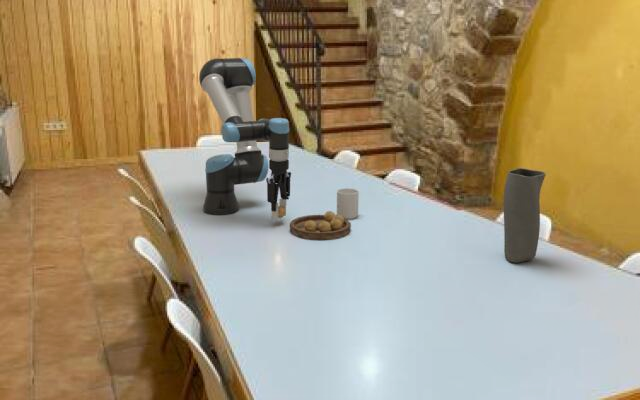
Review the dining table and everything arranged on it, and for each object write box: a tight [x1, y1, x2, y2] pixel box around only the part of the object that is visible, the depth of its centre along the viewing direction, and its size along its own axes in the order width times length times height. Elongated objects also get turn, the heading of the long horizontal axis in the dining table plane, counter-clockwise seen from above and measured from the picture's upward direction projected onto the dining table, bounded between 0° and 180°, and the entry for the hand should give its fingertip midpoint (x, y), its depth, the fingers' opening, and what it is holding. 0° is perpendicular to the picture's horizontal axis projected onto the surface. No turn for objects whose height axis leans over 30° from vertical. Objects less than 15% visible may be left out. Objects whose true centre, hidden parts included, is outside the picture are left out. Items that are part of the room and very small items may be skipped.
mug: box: [336, 187, 360, 221], centre depth 242 cm, size 12×9×11 cm
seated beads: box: [304, 210, 344, 232], centre depth 223 cm, size 12×19×5 cm, turn 148°
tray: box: [289, 214, 352, 241], centre depth 225 cm, size 23×23×3 cm
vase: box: [502, 167, 547, 264], centre depth 193 cm, size 12×12×30 cm
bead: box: [278, 205, 285, 219], centre depth 231 cm, size 5×5×5 cm
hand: (278, 216), depth 231 cm, fingers closed on bead, 4 cm apart
